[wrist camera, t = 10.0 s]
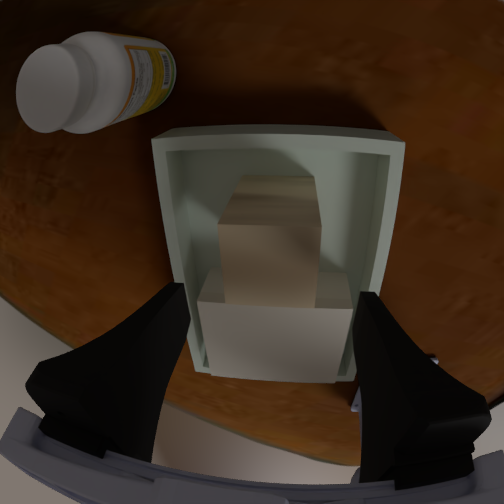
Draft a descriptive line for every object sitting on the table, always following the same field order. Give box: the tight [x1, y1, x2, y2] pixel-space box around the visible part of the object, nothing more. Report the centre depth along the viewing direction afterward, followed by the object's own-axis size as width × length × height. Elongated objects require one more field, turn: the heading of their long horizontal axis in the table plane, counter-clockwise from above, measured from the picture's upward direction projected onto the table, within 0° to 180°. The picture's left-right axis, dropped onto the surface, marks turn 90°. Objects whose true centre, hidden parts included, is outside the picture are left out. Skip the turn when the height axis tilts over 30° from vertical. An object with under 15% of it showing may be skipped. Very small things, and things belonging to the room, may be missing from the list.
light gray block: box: [197, 267, 353, 383], centre depth 24 cm, size 8×10×4 cm
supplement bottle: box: [16, 32, 176, 134], centre depth 14 cm, size 5×5×10 cm
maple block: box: [217, 175, 322, 308], centre depth 18 cm, size 4×4×7 cm
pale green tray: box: [151, 124, 405, 381], centre depth 22 cm, size 20×14×4 cm
